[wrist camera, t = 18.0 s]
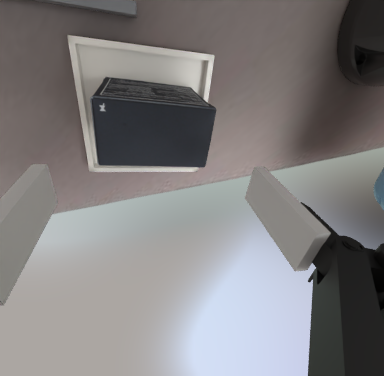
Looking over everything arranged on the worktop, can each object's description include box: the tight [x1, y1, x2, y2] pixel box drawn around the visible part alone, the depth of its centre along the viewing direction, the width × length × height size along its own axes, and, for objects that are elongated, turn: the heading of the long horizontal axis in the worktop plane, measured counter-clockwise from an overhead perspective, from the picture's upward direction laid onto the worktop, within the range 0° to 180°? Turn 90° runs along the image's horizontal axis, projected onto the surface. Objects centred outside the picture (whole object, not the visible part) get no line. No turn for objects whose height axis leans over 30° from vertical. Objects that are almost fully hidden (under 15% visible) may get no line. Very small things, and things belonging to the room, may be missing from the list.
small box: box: [90, 77, 216, 167], centre depth 23 cm, size 11×6×10 cm, turn 82°
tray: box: [67, 35, 215, 172], centre depth 27 cm, size 15×15×2 cm
